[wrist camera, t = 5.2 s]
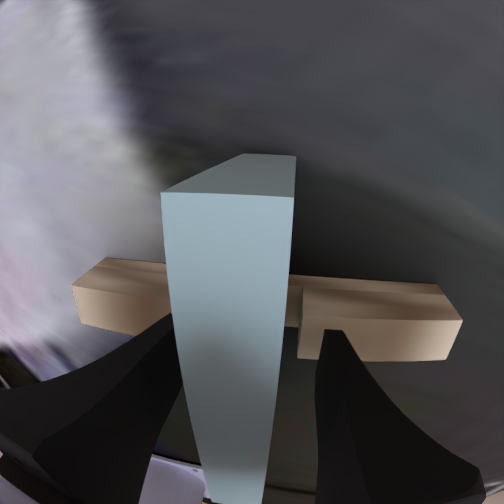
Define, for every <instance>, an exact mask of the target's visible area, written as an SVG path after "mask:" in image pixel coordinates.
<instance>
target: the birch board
mask: <svg viewBox="0 0 504 504" xmlns="http://www.w3.org/2000/svg"><path fill="white" fill-rule="evenodd" d="M71 288H72V292H73V295H74V299H75V303H76V306H77V310H78V313H79V316H80V320H81V323H82V324H86V325H90V326H94V327H98V328H103V329H107V330H111V331H116V332H120V333H125V334H129V335H134V336H137V335H138V334H140V333H141V332H143V331H144V330H146V329H147V328H148V327H150V326H151V325H153V324H154V323H156V322H157V321H158V320H160V319H161V318H163V317H164V316H166V315H167V314H169V313H172V310H171V302H170V294H169V286H168V277H167V268H166V264H163V263H153V262H143V261H133V260H123V259H114V258H105V259H103V260H102V261H101V262H99V263H98V264H97V265H96V266H94V267H93V268H92V269H90V270H89V271H88V272H87V273H85V274H84V275H83V276H82V277H80V278H79V279H78V280H77V281H75V282H74V283H73V284H72V285H71ZM462 321H463V320H462V319H461V317H460V316H459V314H458V313H457V311H456V310H455V308H454V307H453V306H452V304H451V303H450V301H449V300H448V299H447V297H446V296H445V294H444V293H443V292H442V290H441V289H440V288H439V286H438V285H437V284H425V283H408V282H391V281H375V280H359V279H344V278H330V277H316V276H303V275H290V274H289V277H288V289H287V300H286V311H285V322H284V326H288V327H298V350H297V358H302V359H319V354H320V349H321V344H322V339H323V334H324V329H333V330H343V331H344V333H345V334H346V336H347V338H348V340H349V341H350V343H351V345H352V346H353V348H354V350H355V351H356V353H357V354H358V356H359V358H360V359H361V361H428V360H446V358H447V356H448V354H449V351H450V349H451V347H452V345H453V343H454V340H455V338H456V336H457V333H458V331H459V328H460V326H461V323H462Z"/></svg>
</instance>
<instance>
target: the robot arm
mask: <svg viewBox="0 0 504 504" xmlns="http://www.w3.org/2000/svg"><path fill="white" fill-rule="evenodd" d="M182 385H183V379H182V374H181V368H180V362H179V356H178V350H177V344H176V338H175V331H174V324H173V317H172V313H169V314H167V315H166V316H164V317H163V318H161V319H160V320H158V321H157V322H156V323H154V324H153V325H151V326H150V327H148V328H147V329H146V330H144V331H143V332H141V333H140V334H138V335H137V336H135V337H134V338H132V339H131V340H130V341H128V342H126V343H125V344H123V345H122V346H120V347H118V348H117V349H115V350H113V351H112V352H110V353H108V354H107V355H105V356H103V357H102V358H100V359H98V360H96V361H94V362H92V363H90V364H88V365H86V366H84V367H81V368H79V369H77V370H75V371H72V372H69V373H67V374H64V375H61V376H59V377H56V378H53V379H50V380H47V381H44V382H40V383H36V384H32V385H28V386H24V387H18V388H12V389H5V390H0V451H1V452H2V453H3V455H2V457H1V458H0V504H201V503H202V500H203V497H206V498H210V495H209V491H208V488H207V484H206V480H205V477H204V473H203V469H202V466H198V465H194V464H189V463H185V462H181V461H177V460H173V459H169V458H165V457H161V456H158V455H154V454H152V453H153V450H154V447H155V444H156V441H157V438H158V436H159V434H160V431H161V429H162V427H163V425H164V423H165V420H166V418H167V416H168V414H169V412H170V410H171V408H172V406H173V404H174V402H175V400H176V398H177V395H178V393H179V391H180V389H181V387H182ZM315 409H316V423H317V437H318V474H317V487H316V497H315V504H482V502H483V501H484V500H485V498H486V492H485V488H484V484H483V480H482V477H481V474H480V471H479V469H478V468H477V467H476V466H474V465H472V464H470V463H468V462H467V461H465V460H463V459H461V458H460V457H458V456H456V455H454V454H453V453H451V452H450V451H448V450H447V449H445V448H444V447H443V446H441V445H440V444H438V443H437V442H436V441H434V440H433V439H432V438H430V437H429V436H428V435H427V434H426V433H424V432H423V431H422V430H421V429H420V428H419V427H417V426H416V425H415V424H414V423H413V422H412V421H411V420H410V419H409V418H407V417H406V416H405V415H404V414H403V413H402V412H401V410H400V409H399V408H398V407H397V406H396V405H395V404H394V403H393V402H392V401H391V400H390V398H389V397H388V396H387V395H386V394H385V392H384V391H383V390H382V389H381V387H380V386H379V385H378V383H377V382H376V381H375V379H374V378H373V377H372V375H371V374H370V372H369V371H368V369H367V368H366V367H365V365H364V364H363V362H362V361H361V359H360V358H359V356H358V354H357V353H356V351H355V350H354V348H353V346H352V345H351V343H350V341H349V340H348V338H347V336H346V334H345V333H344V331H343V330H333V329H324V334H323V339H322V344H321V349H320V354H319V359H318V364H317V369H316V376H315Z"/></svg>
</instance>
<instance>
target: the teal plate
mask: <svg viewBox="0 0 504 504" xmlns="http://www.w3.org/2000/svg"><path fill="white" fill-rule="evenodd" d="M295 171H296V156H290V155H271V154H241V155H239V156H237V157H235V158H232V159H230V160H228V161H225V162H223V163H221V164H219V165H217V166H214V167H212V168H210V169H208V170H206V171H203V172H201V173H199V174H197V175H195V176H193V177H191V178H189V179H187V180H185V181H182V182H180V183H178V184H176V185H174V186H172V187H170V188H168V189H166V190H164V191H162V192H161V209H162V223H163V236H164V247H165V258H166V268H167V277H168V286H169V294H170V302H171V310H172V317H173V324H174V331H175V338H176V344H177V350H178V356H179V362H180V368H181V374H182V379H183V384H184V390H185V395H186V400H187V405H188V410H189V414H190V419H191V424H192V428H193V432H194V437H195V441H196V445H197V449H198V453H199V457H200V461H201V465H202V469H203V473H204V477H205V480H206V484H207V488H208V491H209V495H210V498H211V501H212V502H216V503H222V504H261V502H262V496H263V490H264V483H265V477H266V470H267V463H268V457H269V449H270V442H271V435H272V428H273V420H274V412H275V404H276V396H277V388H278V379H279V370H280V361H281V352H282V342H283V332H284V322H285V311H286V300H287V289H288V277H289V265H290V252H291V238H292V223H293V207H294V190H295Z"/></svg>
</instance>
